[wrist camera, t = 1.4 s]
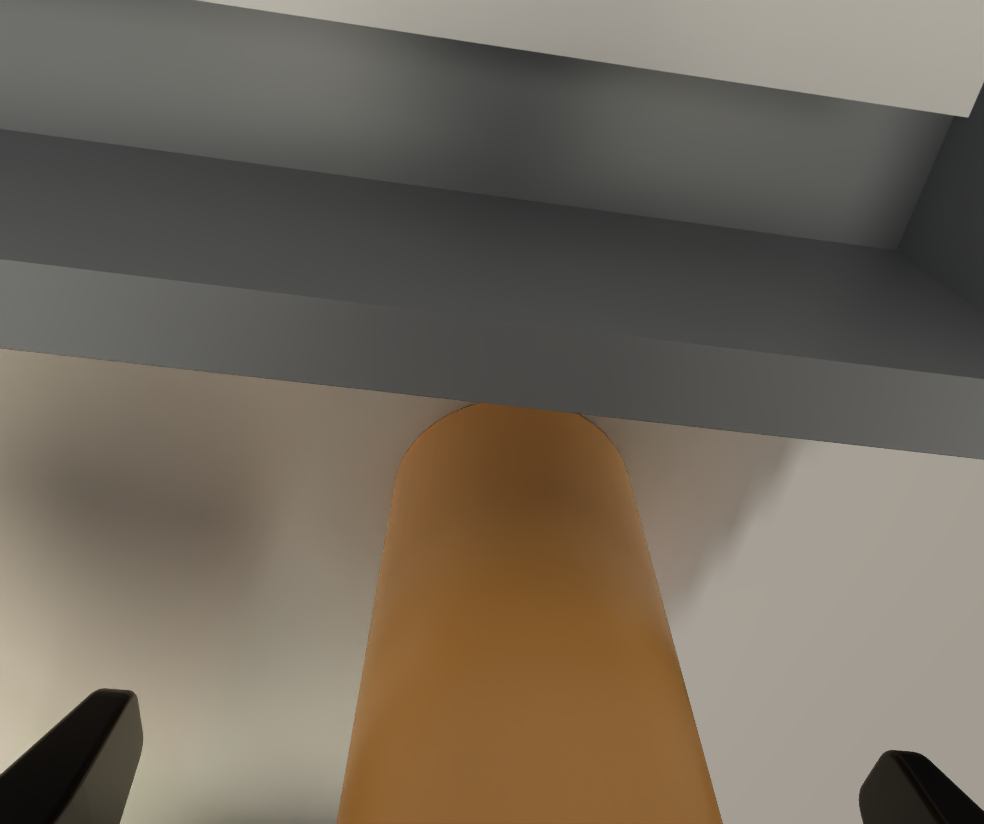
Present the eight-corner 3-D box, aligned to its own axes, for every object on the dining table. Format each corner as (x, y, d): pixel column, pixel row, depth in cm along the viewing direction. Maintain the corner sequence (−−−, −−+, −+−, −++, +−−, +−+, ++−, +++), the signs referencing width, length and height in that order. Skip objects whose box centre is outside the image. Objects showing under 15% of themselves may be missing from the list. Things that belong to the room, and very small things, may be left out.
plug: (602, 597, 14) (712, 1207, 7) (386, 576, 14) (288, 1193, 7) (654, 414, 12) (878, 1025, 5) (402, 385, 12) (286, 993, 5)
